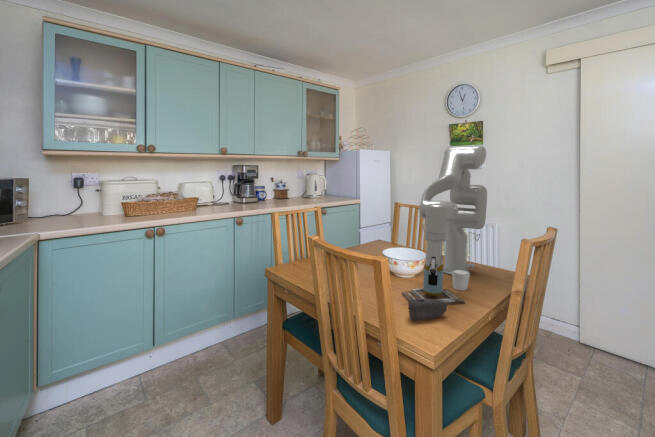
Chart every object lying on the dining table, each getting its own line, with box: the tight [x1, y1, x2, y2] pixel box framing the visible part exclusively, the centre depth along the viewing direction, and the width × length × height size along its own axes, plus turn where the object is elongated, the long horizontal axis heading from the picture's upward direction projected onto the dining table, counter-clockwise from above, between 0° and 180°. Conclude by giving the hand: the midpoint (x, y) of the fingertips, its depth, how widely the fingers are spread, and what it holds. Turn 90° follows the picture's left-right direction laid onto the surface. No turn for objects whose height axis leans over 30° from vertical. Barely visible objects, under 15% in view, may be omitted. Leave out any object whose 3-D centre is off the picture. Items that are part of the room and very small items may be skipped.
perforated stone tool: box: [407, 299, 448, 322], centre depth 106 cm, size 15×5×7 cm, turn 101°
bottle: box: [422, 254, 444, 296], centre depth 120 cm, size 7×7×15 cm
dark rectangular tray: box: [401, 287, 466, 306], centre depth 122 cm, size 20×12×2 cm, turn 98°
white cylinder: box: [451, 270, 471, 291], centre depth 132 cm, size 7×7×7 cm
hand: (433, 281), depth 121 cm, fingers closed on bottle, 6 cm apart
